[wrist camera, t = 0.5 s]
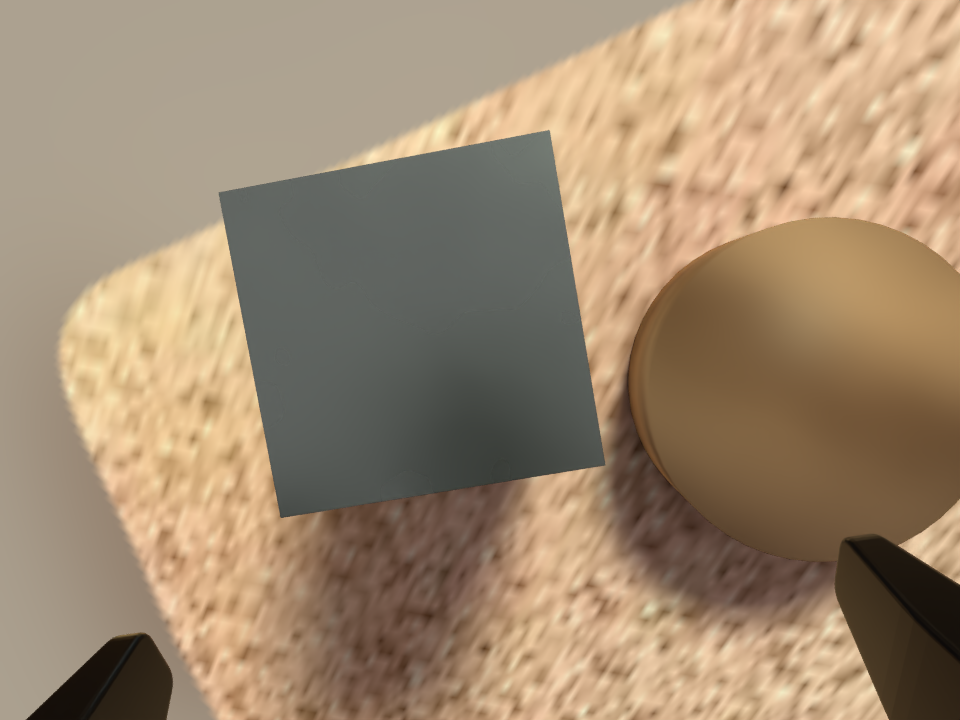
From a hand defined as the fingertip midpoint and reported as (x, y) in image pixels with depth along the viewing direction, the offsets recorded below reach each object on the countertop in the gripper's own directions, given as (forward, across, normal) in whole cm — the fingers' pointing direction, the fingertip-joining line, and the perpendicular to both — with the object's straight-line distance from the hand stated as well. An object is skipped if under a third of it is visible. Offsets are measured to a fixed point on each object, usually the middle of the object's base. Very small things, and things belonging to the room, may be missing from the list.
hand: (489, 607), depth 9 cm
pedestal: (+13, -9, +7) cm, 18 cm away
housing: (+15, +1, +3) cm, 15 cm away
